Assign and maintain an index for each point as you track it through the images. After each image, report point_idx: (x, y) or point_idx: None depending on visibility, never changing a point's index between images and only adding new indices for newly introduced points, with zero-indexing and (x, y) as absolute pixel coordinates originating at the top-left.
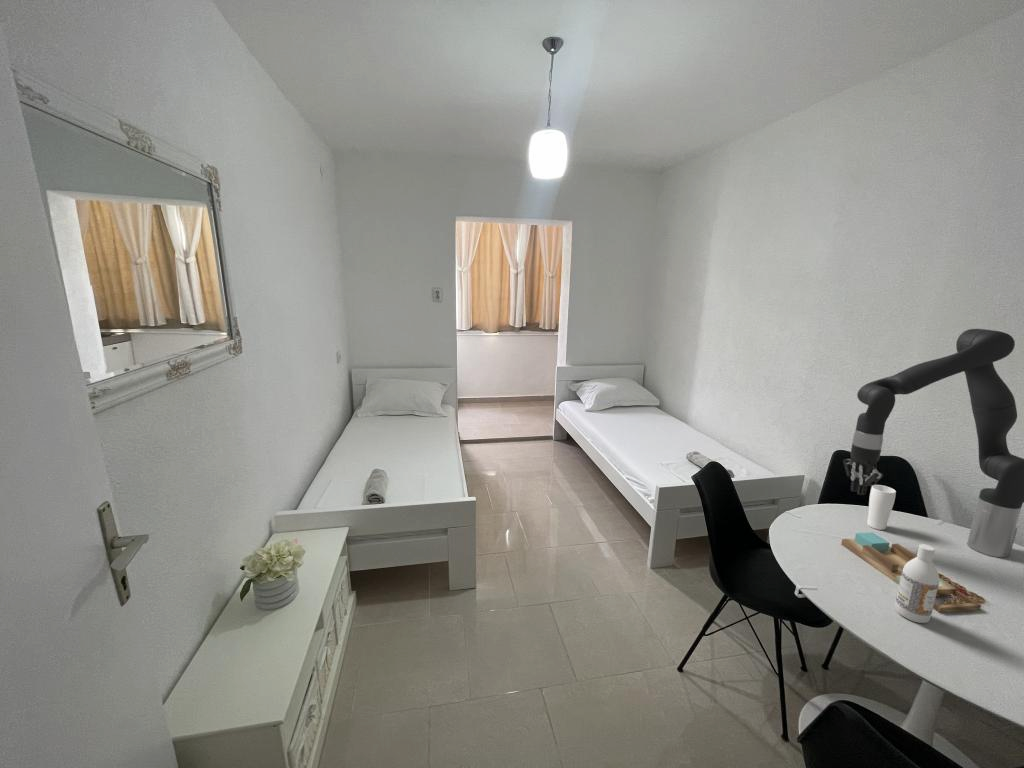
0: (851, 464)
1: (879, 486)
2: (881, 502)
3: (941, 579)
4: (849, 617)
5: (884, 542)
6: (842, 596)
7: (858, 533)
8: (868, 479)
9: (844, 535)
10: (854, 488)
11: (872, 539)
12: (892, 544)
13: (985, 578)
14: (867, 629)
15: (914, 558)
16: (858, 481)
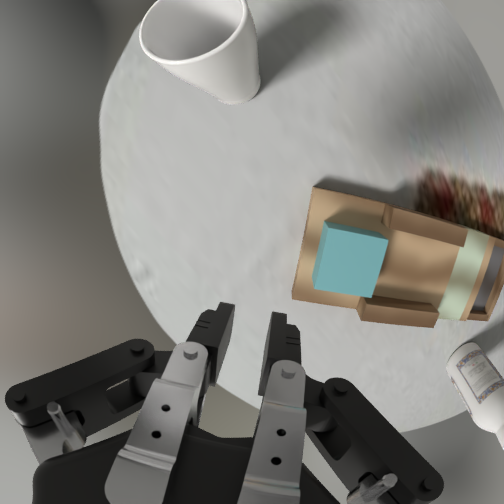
0: (81, 435)
1: (155, 12)
2: (235, 72)
3: (477, 234)
4: (414, 424)
5: (382, 254)
6: (394, 411)
7: (317, 282)
8: (334, 464)
9: (255, 235)
10: (227, 343)
11: (357, 273)
12: (390, 228)
13: (475, 101)
14: (432, 418)
15: (492, 431)
16: (213, 357)
